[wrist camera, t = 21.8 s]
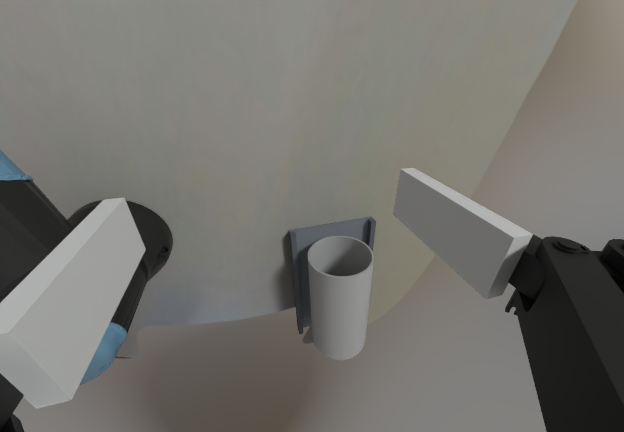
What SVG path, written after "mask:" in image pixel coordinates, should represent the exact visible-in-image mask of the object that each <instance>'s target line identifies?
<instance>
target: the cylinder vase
mask: <svg viewBox="0 0 624 432" xmlns="http://www.w3.org/2000/svg"><path fill="white" fill-rule="evenodd" d="M373 262H374V255H373V252H372V250H371V249H370V247H369V246H368V245H367V244H365V243H364V242H362V241H360V240H358V239H356V238H352V237H348V236H331V237H326V238H323V239H321V240H319V241H317V242H315V243H314V244H313V245H312V246H311V247H310V249H309V251H308V270H309V287H310V304H311V321H312V337H313V342H314V344H315V346H316V348H317V349H318V350H319V351H320V352H321V353H322V354H323V355H324V356H326V357H328V358H330V359H334V360H347V359H350V358H352V357H354V356H355V355H357V354H358V353H359V352H360V351H361V349H362V348H363V345H364V343H365V335H366V326H367V317H368V308H369V299H370V289H371V280H372V271H373Z"/></svg>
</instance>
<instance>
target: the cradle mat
mask: <svg viewBox="0 0 624 432" xmlns="http://www.w3.org/2000/svg"><path fill="white" fill-rule="evenodd" d="M375 226H376V221H375V220H374V219H373V218H372V217H366V218H360V219H354V220H348V221H342V222H336V223H330V224H324V225H318V226H312V227H306V228H300V229H294V230H289V236H290V247H291V258H292V269H293V281H294V292H295V303H296V314H297V325H298V330H299V334H302V333H303V327H307V326H311V325H312V321H311V304H310V287H309V270H308V251H309V249H310V247H311V246H312V245H313V244H314V243H315V242H317V241H319V240H321V239H323V238H326V237H331V236H348V237H352V238H356V239H358V240H360V241H362V242H364V243H365V244H367V245H368V246H369V247H370V249H371V250H372V252H373V244H374V235H375Z"/></svg>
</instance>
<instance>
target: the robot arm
mask: <svg viewBox="0 0 624 432" xmlns="http://www.w3.org/2000/svg"><path fill="white" fill-rule="evenodd" d="M393 215H395V216H396V217H397V218H398V219H399V220H400V221H401V222H402V223H403V224H404V225H405V226H407V227H408V228H409V229H410V230H411V231H412V232H413V233H414V234H415V235H416V236H417V237H418V238H420V239H421V240H422V241H423V242H424V243H425V244H426V245H427V246H428V247H429V248H430V249H431V250H433V251H434V252H435V253H436V254H437V255H438V256H439V257H440V258H441V259H442V260H443V261H445V262H446V263H447V264H448V265H449V266H450V267H451V268H452V269H453V270H454V271H455V272H456V273H458V274H459V275H460V276H461V277H462V278H463V279H464V280H465V281H466V282H467V283H468V284H469V285H471V286H472V287H473V288H474V289H475V290H476V291H477V292H478V293H479V294H480V295H481V296H482V297H484V298H485V299H488V298H492V297H496V296H500V295H502V294H503V292H504V290H505V288H506V286H507V284H508V283H510V284H511V285H513V286H514V287H515V288H516V289H515V291H514V293H513V295H512V297H511V299H510V301H509V302H508V304H507V306H506V309H505V312H509V311H510V309H511V308H512V307H516V310H515V312H514V314H515V315H517V316H518V320H519V323H520V328H521V332H522V335H523V339H524V343H525V347H526V351H527V355H528V359H529V363H530V367H531V371H532V375H533V379H534V382H535V387H536V391H537V395H538V399H539V403H540V406H541V411H542V415H543V419H544V423H545V427H546V431H547V432H624V240H622V239H613V240H610V241H609V242H608V243H607V244H606V246H605V247H604V249H603V250H602V251H591V250H589V249H588V248H587V247H586V246H583V245H581V244H579V243H576V242H574V241H572V240H569V239H565V238H561V237H545V238H544V239H541V238H539V237H537V236H535V235H533V234H531V233H530V232H528V231H526V230H524V229H523V228H521V227H519V226H517V225H515V224H514V223H512V222H510V221H508V220H506V219H504V218H503V217H501V216H499V215H497V214H496V213H494V212H492V211H490V210H488V209H487V208H485V207H483V206H481V205H479V204H478V203H476V202H474V201H472V200H470V199H469V198H467V197H465V196H463V195H461V194H460V193H458V192H456V191H454V190H452V189H451V188H449V187H447V186H445V185H443V184H442V183H440V182H438V181H436V180H434V179H433V178H431V177H429V176H427V175H425V174H424V173H422V172H420V171H418V170H416V169H415V168H407V169H401V171H400V176H399V182H398V188H397V194H396V199H395V205H394V211H393ZM172 246H173V238H172V234H171V231H170V229H169V227H168V226H167V224H166V223H165V221H164V220H163V219H162V218H161V217H160V216H158V215H157V214H156V213H155V212H153V211H152V210H150V209H148V208H146V207H144V206H142V205H139V204H136V203H133V202H129V201H126V200H125V198H115V199H105V200H101V201H96V202H93V203H90V204H87V205H85V206H83V207H82V208H80V209H79V210H77V211H76V212H75V213H74V214H73V215H72V216H71V217H70V218H69V219H68V220H66V218H65V217H64V216H63V215H62V214H61V213H60V212H59V211H58V209H57V208H56V207H55V206H54V205H53V204H52V203H51V202H50V200H49V199H48V198H47V197H46V196H45V195H44V194H43V193H42V191H41V190H40V189H39V188H38V187H37V186H36V185H35V184H34V182H33V178H32V177H30V176H28V175H25V174H24V173H23V172H22V171H21V170H20V169H19V168H18V167H17V166H16V165H15V164H14V163H13V162H12V161H11V160H10V159H9V158H8V157H7V156H6V155H5V154H4V153H3V152H2V151H1V150H0V432H24V430H23V427H22V424H21V421H20V420H19V419H18V418H17V417H16V416H15V415H13V414H12V413H13V411H14V410H15V408H16V407H17V405H18V404H19V402H20V401H21V399H22V398H23V397H24V398H25V399H27V400H28V402H30V403H31V404H32V405H33V406H34V407H35V408H41V407H45V406H49V405H53V404H58V403H62V402H66V401H69V400H72V398H73V396H74V394H75V392H76V390H77V388H78V386H79V385H81V384H84V383H86V382H88V381H90V380H92V379H94V378H95V377H97V376H99V375H100V374H101V373H103V372H104V371H105V370H106V369H107V368H108V367H109V366H110V365H111V363H112V362H113V360H114V358H115V356H116V354H117V352H118V350H119V348H120V346H121V344H122V343H123V342H124V341H125V339H126V336H127V333H128V330H129V327H130V325H131V322H132V319H133V317H134V314H135V312H136V309H137V306H138V304H139V301H140V298H141V296H142V293H143V291H144V288H145V285H146V283H147V282H148V281H149V280H150V279H151V278H152V277H153V276H154V275H155V274H156V273H157V272H158V271H159V270H160V269H161V268H162V267H163V266H164V265H165V264H166V262H167V260H168V258H169V256H170V253H171V250H172Z"/></svg>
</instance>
